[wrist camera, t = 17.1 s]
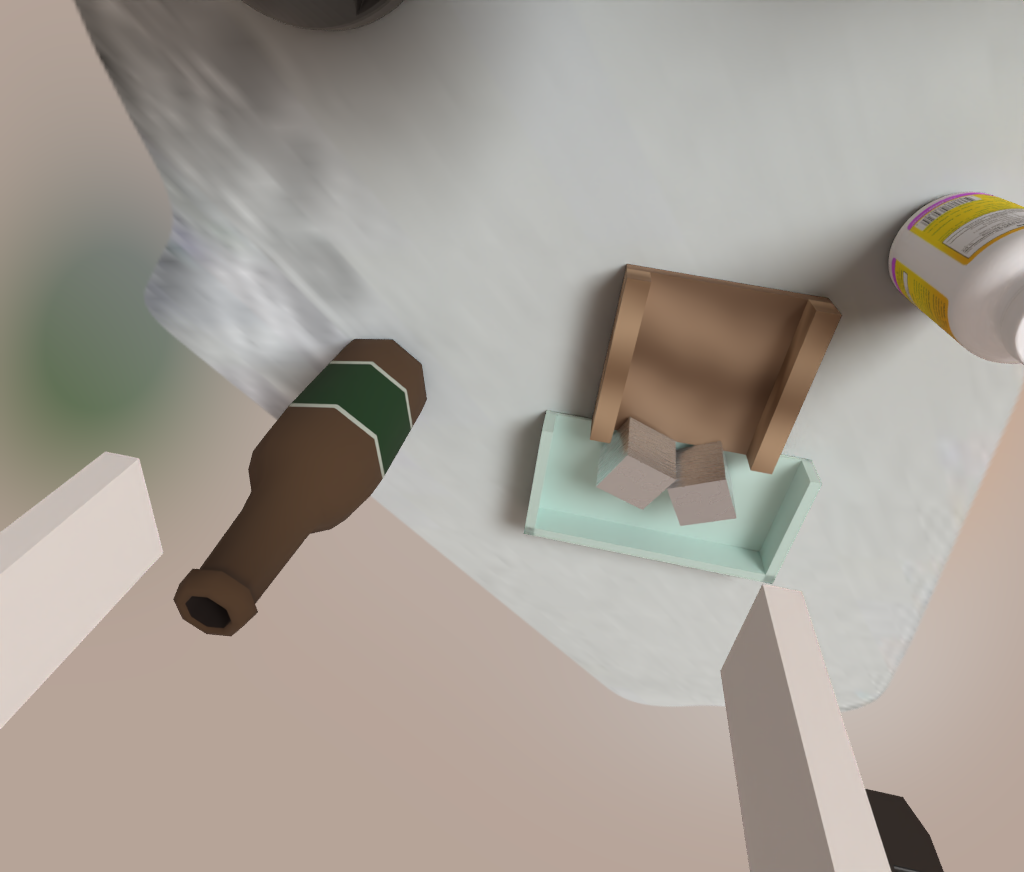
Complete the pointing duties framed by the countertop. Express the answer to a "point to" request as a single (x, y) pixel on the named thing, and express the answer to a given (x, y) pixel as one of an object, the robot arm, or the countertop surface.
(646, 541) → the tray
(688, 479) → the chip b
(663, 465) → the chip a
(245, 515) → the beer bottle
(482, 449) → the countertop surface
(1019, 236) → the supplement bottle
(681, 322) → the slot board
